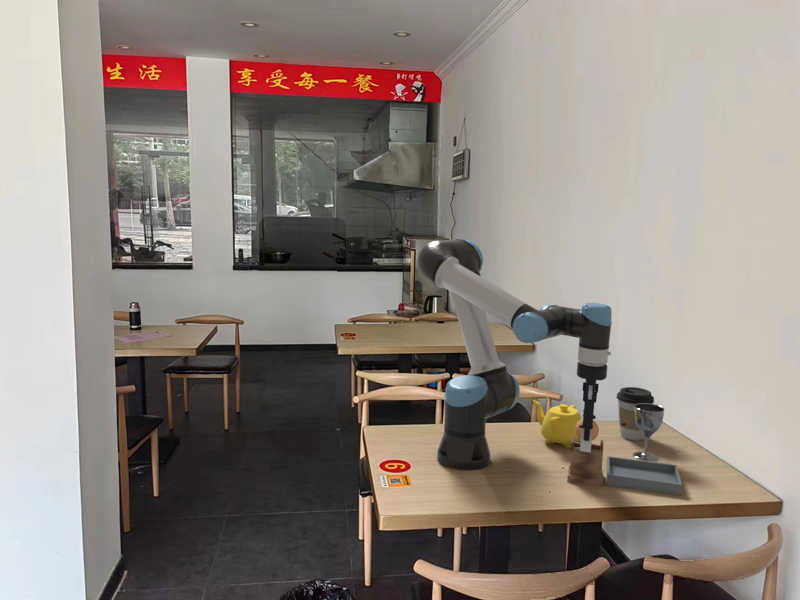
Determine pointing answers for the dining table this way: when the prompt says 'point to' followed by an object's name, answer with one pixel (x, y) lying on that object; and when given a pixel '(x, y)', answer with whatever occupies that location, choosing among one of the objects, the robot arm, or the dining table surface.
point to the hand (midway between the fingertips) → (585, 446)
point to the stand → (586, 464)
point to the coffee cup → (631, 410)
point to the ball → (594, 432)
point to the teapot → (559, 424)
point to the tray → (643, 475)
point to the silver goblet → (648, 426)
